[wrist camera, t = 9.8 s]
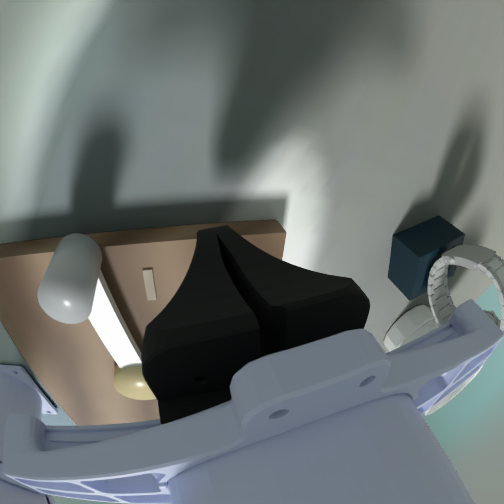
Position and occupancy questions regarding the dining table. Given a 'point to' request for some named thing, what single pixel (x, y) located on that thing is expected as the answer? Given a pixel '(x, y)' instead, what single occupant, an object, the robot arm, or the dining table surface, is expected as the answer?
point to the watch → (440, 265)
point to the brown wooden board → (126, 298)
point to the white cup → (412, 328)
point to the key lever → (92, 308)
